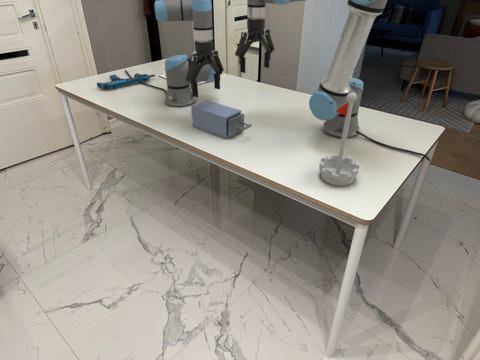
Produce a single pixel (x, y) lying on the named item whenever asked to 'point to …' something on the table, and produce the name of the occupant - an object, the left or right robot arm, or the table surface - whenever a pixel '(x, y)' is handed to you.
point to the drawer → (236, 125)
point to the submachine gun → (124, 81)
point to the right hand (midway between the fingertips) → (254, 69)
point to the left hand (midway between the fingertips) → (206, 92)
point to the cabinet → (212, 117)
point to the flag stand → (341, 154)
